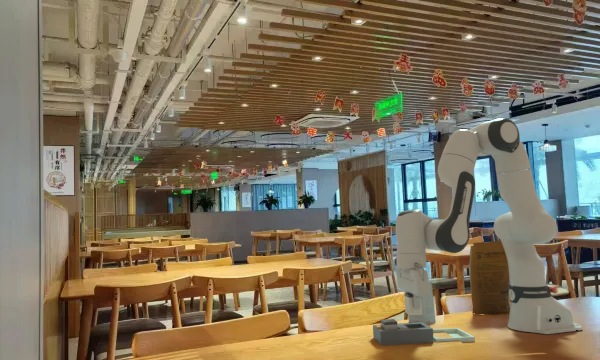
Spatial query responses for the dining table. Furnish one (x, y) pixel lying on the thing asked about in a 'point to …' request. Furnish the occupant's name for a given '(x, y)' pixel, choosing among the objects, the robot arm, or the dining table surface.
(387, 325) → the twin plug
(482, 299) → the pancake mix bag
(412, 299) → the plug
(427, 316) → the skincare box
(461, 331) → the tray
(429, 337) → the grey socket block
